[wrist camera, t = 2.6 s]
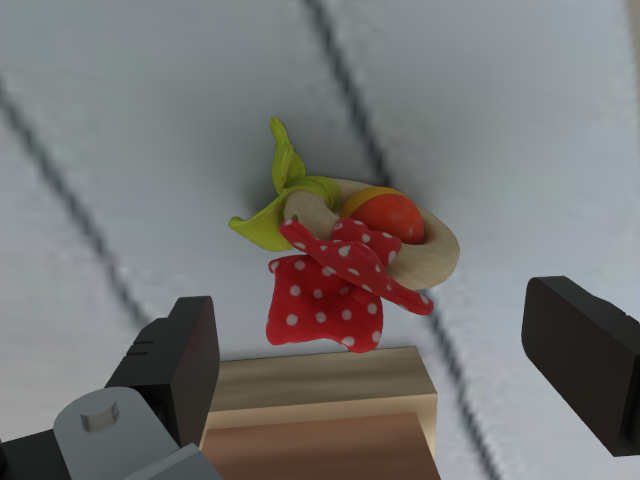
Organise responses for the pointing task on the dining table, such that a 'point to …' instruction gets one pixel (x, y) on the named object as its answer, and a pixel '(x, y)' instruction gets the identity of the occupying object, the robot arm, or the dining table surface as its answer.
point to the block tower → (324, 418)
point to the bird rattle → (343, 253)
